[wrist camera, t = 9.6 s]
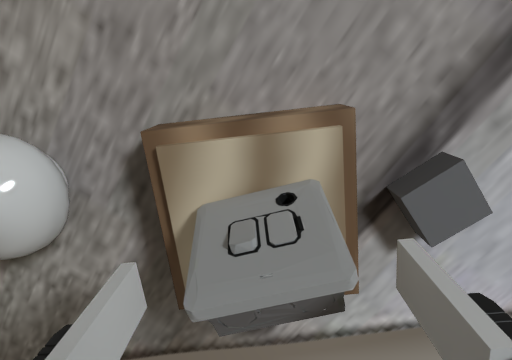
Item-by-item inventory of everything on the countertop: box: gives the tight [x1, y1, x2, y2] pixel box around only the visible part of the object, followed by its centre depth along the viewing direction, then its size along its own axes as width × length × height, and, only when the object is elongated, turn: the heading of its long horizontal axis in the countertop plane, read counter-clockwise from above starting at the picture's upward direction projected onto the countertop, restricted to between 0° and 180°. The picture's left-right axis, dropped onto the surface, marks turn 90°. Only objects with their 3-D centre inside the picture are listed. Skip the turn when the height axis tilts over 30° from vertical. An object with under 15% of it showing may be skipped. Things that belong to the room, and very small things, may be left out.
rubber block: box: [387, 152, 493, 247], centre depth 25 cm, size 5×5×3 cm
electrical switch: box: [183, 179, 359, 337], centre depth 18 cm, size 8×5×8 cm, turn 104°
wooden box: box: [141, 104, 359, 310], centre depth 24 cm, size 14×14×5 cm
